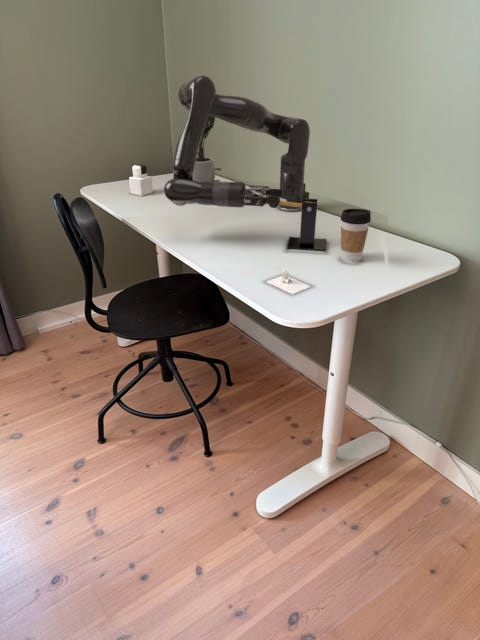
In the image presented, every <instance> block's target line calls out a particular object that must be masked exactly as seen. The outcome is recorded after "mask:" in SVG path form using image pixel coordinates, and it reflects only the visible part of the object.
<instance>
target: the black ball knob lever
mask: <svg viewBox="0 0 480 640" xmlns="http://www.w3.org/2000/svg"><path fill="white" fill-rule="evenodd" d="M306 202H308V201H306ZM267 205H268V207H270V208H271V209H276V208H279V205H285V206H293V207H301V208H302V203H294V202H285V201H280V203H279V204H267Z"/></svg>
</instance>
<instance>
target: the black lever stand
mask: <svg viewBox="0 0 480 640" xmlns="http://www.w3.org/2000/svg"><path fill="white" fill-rule="evenodd" d="M306 201H308V202H306ZM317 210H318V198H310V197H309V198H303V202H302V209H301V216H300V231H299V232H300V234H299V237H298V236H289V237H288V240H287V241H288V242H287V245H286V250H293V251H311V252H326V251H327V238H320V237H319V238H318V237H315V236H316V226H317V225H316V224H317V223H316V222H317Z"/></svg>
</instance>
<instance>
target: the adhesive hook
mask: <svg viewBox="0 0 480 640" xmlns="http://www.w3.org/2000/svg"><path fill="white" fill-rule="evenodd" d="M289 273H290V272H288V270H284V271H282V273H281V275H280V276H281V278H280V279H279V281H280V282H282V283H283V282H284V283H286V284H290V283H292V282H293V279H294V278H293V279H292V277H290V274H289Z"/></svg>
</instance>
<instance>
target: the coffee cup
mask: <svg viewBox="0 0 480 640" xmlns="http://www.w3.org/2000/svg"><path fill="white" fill-rule="evenodd" d="M371 215H372V214H371V210H369V209H367V208H366V209H365V208H345V209H343V210H342V212H341V215H340V221H341V226H340V259H341V260H342V261H345V262H349V263H357V262H360V261H362V258H363V253H364V249H365V245H366V240H367V235H368V232H369V223H371V220H372V217H371Z"/></svg>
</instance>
